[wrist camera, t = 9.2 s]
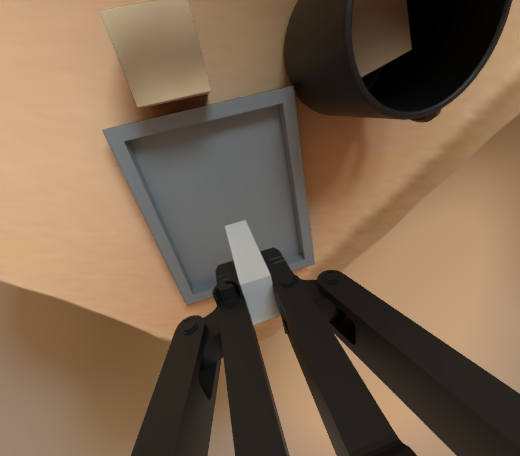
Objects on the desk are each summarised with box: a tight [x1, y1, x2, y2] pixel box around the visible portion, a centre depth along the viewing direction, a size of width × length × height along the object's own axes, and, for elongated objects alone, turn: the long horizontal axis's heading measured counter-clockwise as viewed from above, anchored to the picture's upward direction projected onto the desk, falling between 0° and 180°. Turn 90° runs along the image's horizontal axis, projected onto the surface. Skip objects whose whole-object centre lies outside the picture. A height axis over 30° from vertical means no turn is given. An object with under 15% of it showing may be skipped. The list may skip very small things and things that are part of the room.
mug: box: [285, 0, 512, 122], centre depth 16 cm, size 9×12×9 cm
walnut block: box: [352, 0, 412, 77], centre depth 17 cm, size 4×4×4 cm
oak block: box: [99, 0, 211, 107], centre depth 16 cm, size 4×4×4 cm
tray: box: [102, 85, 315, 305], centre depth 22 cm, size 17×14×2 cm
